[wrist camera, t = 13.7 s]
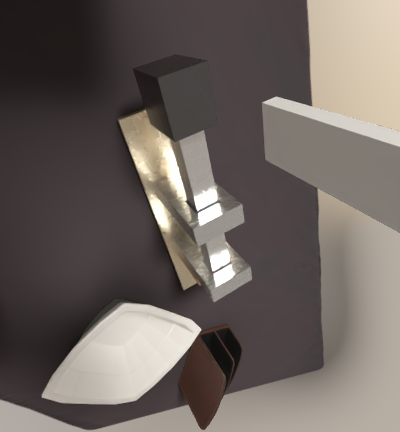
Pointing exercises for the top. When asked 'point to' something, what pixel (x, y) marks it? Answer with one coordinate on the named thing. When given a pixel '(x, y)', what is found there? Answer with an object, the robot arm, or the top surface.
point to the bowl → (121, 354)
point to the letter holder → (210, 371)
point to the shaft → (186, 132)
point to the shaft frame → (183, 210)
